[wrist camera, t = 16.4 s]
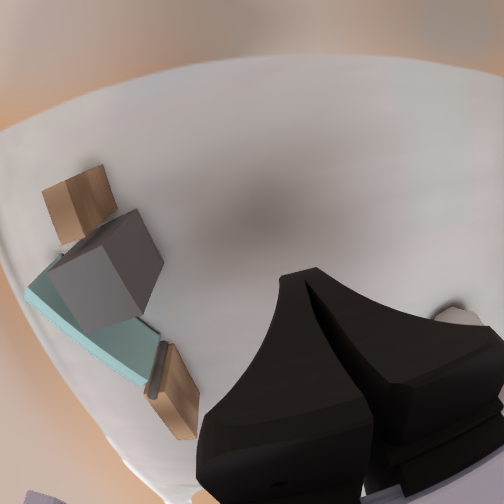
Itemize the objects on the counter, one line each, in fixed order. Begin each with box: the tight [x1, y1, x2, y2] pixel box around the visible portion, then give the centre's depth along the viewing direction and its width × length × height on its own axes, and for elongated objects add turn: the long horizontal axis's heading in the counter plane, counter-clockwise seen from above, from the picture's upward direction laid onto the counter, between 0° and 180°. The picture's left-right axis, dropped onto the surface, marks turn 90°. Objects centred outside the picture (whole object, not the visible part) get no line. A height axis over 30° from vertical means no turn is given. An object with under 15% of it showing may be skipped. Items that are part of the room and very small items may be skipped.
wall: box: [42, 165, 200, 440], centre depth 19 cm, size 20×2×5 cm, turn 13°
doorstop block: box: [46, 209, 164, 334], centre depth 17 cm, size 4×4×6 cm
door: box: [23, 254, 160, 387], centre depth 18 cm, size 10×2×5 cm, turn 44°
